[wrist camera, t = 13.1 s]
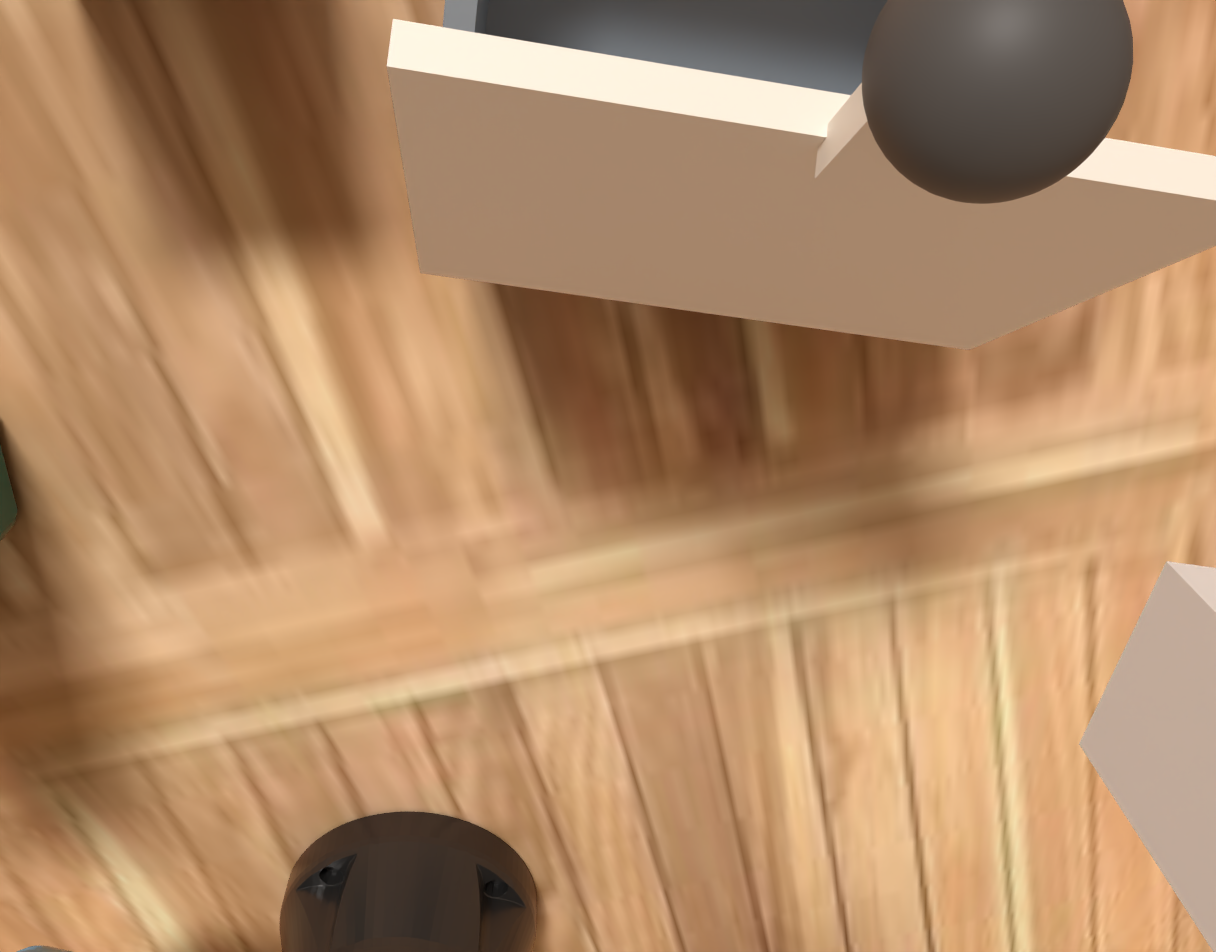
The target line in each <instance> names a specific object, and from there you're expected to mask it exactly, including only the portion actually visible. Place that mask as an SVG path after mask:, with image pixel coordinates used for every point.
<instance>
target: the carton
mask: <svg viewBox="0 0 1216 952" xmlns="http://www.w3.org/2000/svg"><path fill="white" fill-rule="evenodd" d="M887 1H888V0H445V9H444V20H443V27H445V28H451V29H456V30H462V31H468V32H474V33H480V34H486V35H492V36H498V37H504V38H510V39H516V40H522V41H528V42H534V43H540V44H546V45H552V46H558V47H564V48H570V49H576V50H582V51H588V52H594V53H600V54H606V55H612V56H618V57H624V58H630V59H636V60H642V61H648V62H654V63H660V64H666V65H672V66H678V67H684V68H690V69H696V70H702V71H708V72H714V73H720V74H726V75H732V76H738V77H744V78H750V79H756V80H762V81H768V82H774V83H780V84H786V85H792V86H798V87H804V88H810V89H816V90H822V91H828V92H834V93H840V94H846V95H852V94H853V92H854V91H855V90H856V89H857V88H858V86H859V85H860V84H861V83H862V67H863V61H864V55H865V50H866V47H867V43H868V40H869V37H870V34H871V31H872V28H873V26H874V24H875V22H876V20H877V17H878V15H879V13H880V12H881V10H882V8H883V7H884V5H885V4H886V2H887Z"/></svg>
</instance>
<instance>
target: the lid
mask: <svg viewBox="0 0 1216 952" xmlns="http://www.w3.org/2000/svg"><path fill="white" fill-rule="evenodd" d="M1132 65H1133V37H1132V31H1131V25H1130V20H1129V17H1128V14H1127V11H1126V8H1125V5H1124V2H1123V0H888V1H887V2H886V4H885V5H884V7H883V8H882V10H881V12H880V13H879V15H878V17H877V20H876V22H875V24H874V26H873V28H872V31H871V34H870V37H869V40H868V43H867V47H866V50H865V55H864V61H863V67H862V83H861V84H860V85H859V86H858V88H857V89H856V90H855V91H854V92H853V94H852V95H846V94H840V93H834V92H828V91H822V90H816V89H810V88H804V87H798V86H792V85H786V84H780V83H774V82H768V81H762V80H756V79H750V78H744V77H738V76H732V75H726V74H720V73H714V72H708V71H702V70H696V69H690V68H684V67H678V66H672V65H666V64H660V63H654V62H648V61H642V60H636V59H630V58H624V57H618V56H612V55H606V54H600V53H594V52H588V51H582V50H576V49H570V48H564V47H558V46H552V45H546V44H540V43H534V42H528V41H522V40H516V39H510V38H504V37H498V36H492V35H486V34H480V33H474V32H468V31H462V30H456V29H451V28H445V27H439V26H433V25H427V24H421V23H415V22H409V21H403V20H397V19H393V23H392V30H391V38H390V45H389V53H388V60H387V71H388V77H389V83H390V89H391V96H392V102H393V108H394V114H395V120H396V126H397V133H398V139H399V145H400V151H401V157H402V163H403V169H404V176H405V182H406V188H407V194H408V200H409V206H410V212H411V219H412V225H413V231H414V237H415V243H416V249H417V255H418V262H419V268H420V273H424V274H431V275H438V276H445V277H452V278H459V279H466V280H473V281H480V282H488V283H495V284H502V285H509V286H516V287H523V288H530V289H537V290H545V291H552V292H559V293H566V294H573V295H580V296H587V297H594V298H601V299H609V300H616V301H623V302H630V303H637V304H644V305H651V306H658V307H666V308H673V309H680V310H687V311H694V312H701V313H708V314H715V315H722V316H730V317H737V318H744V319H751V320H758V321H765V322H772V323H779V324H787V325H794V326H801V327H808V328H815V329H822V330H829V331H836V332H843V333H851V334H858V335H865V336H872V337H879V338H886V339H893V340H900V341H908V342H915V343H922V344H929V345H936V346H943V347H950V348H957V349H964V350H971V349H973V348H975V347H978V346H980V345H982V344H985V343H987V342H989V341H992V340H994V339H997V338H999V337H1001V336H1004V335H1006V334H1008V333H1011V332H1013V331H1015V330H1018V329H1020V328H1023V327H1025V326H1027V325H1030V324H1032V323H1034V322H1037V321H1039V320H1041V319H1044V318H1046V317H1049V316H1051V315H1053V314H1056V313H1058V312H1060V311H1063V310H1065V309H1067V308H1070V307H1072V306H1075V305H1077V304H1079V303H1082V302H1084V301H1086V300H1089V299H1091V298H1093V297H1096V296H1098V295H1101V294H1103V293H1105V292H1108V291H1110V290H1112V289H1115V288H1117V287H1119V286H1122V285H1124V284H1127V283H1129V282H1131V281H1134V280H1136V279H1138V278H1141V277H1143V276H1145V275H1148V274H1150V273H1153V272H1155V271H1157V270H1160V269H1162V268H1164V267H1167V266H1169V265H1171V264H1174V263H1176V262H1179V261H1181V260H1183V259H1186V258H1188V257H1190V256H1193V255H1195V254H1198V253H1200V252H1202V251H1205V250H1207V249H1209V248H1212V247H1214V246H1216V156H1211V155H1205V154H1199V153H1194V152H1188V151H1182V150H1176V149H1170V148H1164V147H1158V146H1152V145H1146V144H1140V143H1134V142H1128V141H1122V140H1116V139H1110V138H1105V137H1106V135H1107V133H1108V132H1109V130H1110V129H1111V127H1112V125H1113V124H1114V122H1115V120H1116V119H1117V117H1118V114H1119V112H1120V110H1121V108H1122V105H1123V103H1124V100H1125V97H1126V93H1127V90H1128V86H1129V83H1130V79H1131V72H1132Z"/></svg>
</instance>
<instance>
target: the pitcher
mask: <svg viewBox="0 0 1216 952" xmlns="http://www.w3.org/2000/svg"><path fill="white" fill-rule="evenodd" d="M17 511H18V508H17V504H16V500H15V497H14V493H13V489H12V486H11V482H10V478H9V474H8V471H7V467H6V463H5V459H4V456H3V452H2V448H1V444H0V541H1V540H2V539H3V538H4V537H5V535H6V534H7V533H8V532H9V531H10V529H11V528H12V527H13V526H14V525H15V520H16V516H17Z"/></svg>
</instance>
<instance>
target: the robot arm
mask: <svg viewBox="0 0 1216 952" xmlns="http://www.w3.org/2000/svg"><path fill="white" fill-rule="evenodd" d="M1079 745H1080V746H1081V748H1082V749H1083V751H1084V752H1085V754H1086V755H1087V757H1088V759H1089V760H1090V762H1091V763H1092V765H1093V766H1094V768H1095V769H1096V771H1097V773H1098V774H1099V776H1100V777H1101V779H1102V780H1103V782H1104V783H1105V785H1106V786H1107V788H1108V790H1109V791H1110V793H1111V794H1112V796H1113V797H1114V799H1115V800H1116V802H1117V803H1118V805H1119V807H1120V808H1121V810H1122V811H1123V813H1124V814H1125V816H1126V817H1127V819H1128V820H1129V822H1130V824H1131V825H1132V827H1133V828H1134V830H1135V831H1136V833H1137V834H1138V836H1139V838H1140V839H1141V841H1142V842H1143V844H1144V845H1145V847H1146V848H1147V850H1148V851H1149V853H1150V855H1151V856H1152V858H1153V859H1154V861H1155V862H1156V864H1157V865H1158V867H1159V868H1160V870H1161V872H1162V873H1163V875H1164V876H1165V878H1166V879H1167V881H1168V882H1169V884H1170V885H1171V887H1172V889H1173V890H1174V892H1175V893H1176V895H1177V896H1178V898H1179V899H1180V901H1181V903H1182V904H1183V906H1184V907H1185V909H1186V910H1187V912H1188V913H1189V915H1190V916H1191V918H1192V920H1193V921H1194V923H1195V924H1196V926H1197V927H1198V929H1199V930H1200V932H1201V933H1202V935H1203V937H1204V938H1205V940H1206V941H1207V943H1208V944H1209V946H1210V947H1211V949H1212V950H1213V952H1216V568H1212V567H1204V566H1197V565H1190V564H1182V563H1175V562H1168V561H1166V563H1165V565H1164V567H1163V569H1162V571H1161V574H1160V576H1159V578H1158V580H1157V582H1156V584H1155V586H1154V588H1153V590H1152V592H1151V594H1150V597H1149V599H1148V601H1147V603H1146V605H1145V607H1144V609H1143V611H1142V613H1141V615H1140V617H1139V620H1138V622H1137V624H1136V626H1135V628H1134V630H1133V632H1132V634H1131V636H1130V638H1129V640H1128V643H1127V645H1126V647H1125V649H1124V651H1123V653H1122V655H1121V657H1120V659H1119V661H1118V663H1117V666H1116V668H1115V670H1114V672H1113V674H1112V676H1111V678H1110V680H1109V682H1108V684H1107V686H1106V689H1105V691H1104V693H1103V695H1102V697H1101V699H1100V701H1099V703H1098V705H1097V707H1096V709H1095V712H1094V714H1093V716H1092V718H1091V720H1090V722H1089V724H1088V726H1087V728H1086V730H1085V732H1084V735H1083V737H1082V739H1081V741H1080V743H1079ZM536 913H537V897H536V890H535V885H534V882H533V879H532V877H531V874H530V872H529V870H528V868H527V867H526V865H525V864H524V862H523V861H522V860H521V858H520V857H519V856H518V855H517V854H516V852H515V851H514V850H513V849H512V848H510V847H509V846H508V845H507V844H506V843H505V842H503V841H502V840H501V839H499V838H498V837H496V836H495V835H493V834H492V833H490V832H488V831H486V830H484V829H482V828H480V827H478V826H476V825H474V824H471V823H469V822H466V821H463V820H460V819H456V818H453V817H449V816H444V815H439V814H433V813H424V812H392V813H383V814H377V815H372V816H368V817H364V818H360V819H357V820H354V821H351V822H348V823H346V824H344V825H341V826H339V827H337V828H335V829H333V830H331V831H330V832H328V833H326V834H325V835H323V836H322V837H320V838H319V839H318V840H316V841H315V842H314V843H313V844H312V845H311V846H310V847H309V848H308V849H307V850H306V851H305V852H304V853H303V854H302V855H301V857H300V858H299V859H298V861H297V862H296V864H295V866H294V868H293V870H292V872H291V874H290V877H289V880H288V884H287V888H286V892H285V896H284V900H283V903H282V908H281V914H280V937H281V945H282V952H532V949H533V945H534V941H535V935H536ZM17 952H72V951H67V950H63V949H59V948H54V947H50V946H31V947H28V948H25V949H22V950H20V951H17Z"/></svg>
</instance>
